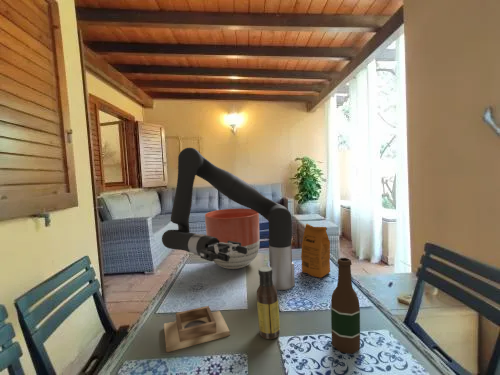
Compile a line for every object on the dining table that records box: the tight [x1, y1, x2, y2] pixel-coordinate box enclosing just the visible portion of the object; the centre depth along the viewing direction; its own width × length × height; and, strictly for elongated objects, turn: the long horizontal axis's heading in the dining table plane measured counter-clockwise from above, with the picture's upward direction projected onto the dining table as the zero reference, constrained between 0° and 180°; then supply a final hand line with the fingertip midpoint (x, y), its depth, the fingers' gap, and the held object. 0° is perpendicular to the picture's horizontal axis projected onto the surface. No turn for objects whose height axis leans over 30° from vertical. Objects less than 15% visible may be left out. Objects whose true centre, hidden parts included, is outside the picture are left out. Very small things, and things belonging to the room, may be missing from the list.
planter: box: [204, 208, 260, 270], centre depth 134 cm, size 27×27×27 cm
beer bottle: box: [330, 257, 361, 355], centre depth 73 cm, size 8×8×24 cm
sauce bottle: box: [256, 266, 281, 340], centre depth 79 cm, size 6×6×20 cm
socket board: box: [163, 305, 231, 354], centre depth 82 cm, size 18×12×4 cm, turn 110°
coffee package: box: [300, 223, 331, 279], centre depth 122 cm, size 10×12×22 cm
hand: (237, 254), depth 85 cm, fingers open, 8 cm apart
